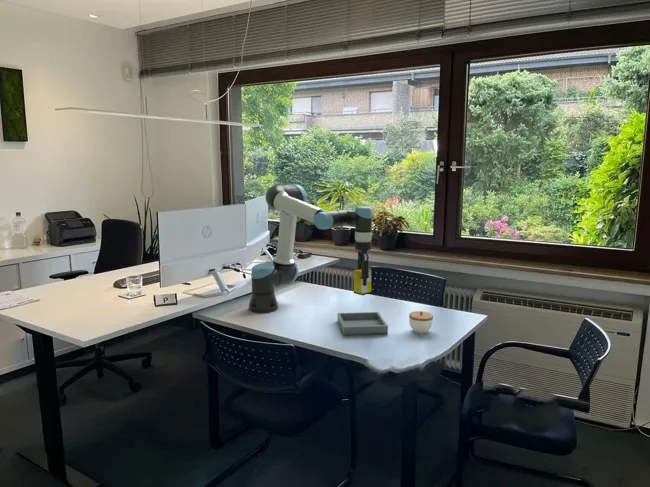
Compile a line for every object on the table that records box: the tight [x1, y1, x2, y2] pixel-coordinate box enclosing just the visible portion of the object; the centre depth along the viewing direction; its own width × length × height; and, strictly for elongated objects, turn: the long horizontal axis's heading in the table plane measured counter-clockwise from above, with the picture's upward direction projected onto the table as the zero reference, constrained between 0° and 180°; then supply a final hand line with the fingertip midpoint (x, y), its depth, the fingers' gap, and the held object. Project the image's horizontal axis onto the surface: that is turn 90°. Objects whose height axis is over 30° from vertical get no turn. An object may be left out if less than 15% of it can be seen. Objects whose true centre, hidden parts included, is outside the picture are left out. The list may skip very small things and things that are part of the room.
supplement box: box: [353, 268, 372, 296], centre depth 224 cm, size 6×6×11 cm
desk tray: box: [337, 311, 389, 337], centre depth 228 cm, size 20×20×4 cm
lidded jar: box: [408, 310, 434, 334], centre depth 223 cm, size 11×11×9 cm
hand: (362, 289), depth 225 cm, fingers closed on supplement box, 8 cm apart
